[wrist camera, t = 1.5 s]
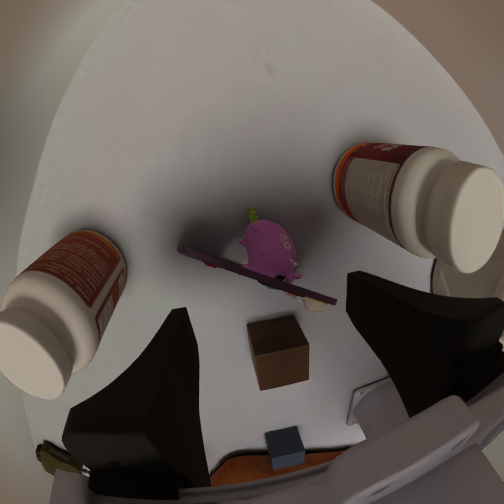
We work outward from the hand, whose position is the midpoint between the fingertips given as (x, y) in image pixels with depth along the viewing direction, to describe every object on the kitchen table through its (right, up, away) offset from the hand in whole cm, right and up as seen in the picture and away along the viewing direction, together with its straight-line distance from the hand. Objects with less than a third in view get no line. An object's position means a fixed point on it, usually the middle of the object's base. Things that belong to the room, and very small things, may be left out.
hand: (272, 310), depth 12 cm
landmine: (-37, -31, +13) cm, 50 cm away
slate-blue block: (+3, -21, +18) cm, 28 cm away
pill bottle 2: (+8, +8, +8) cm, 14 cm away
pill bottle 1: (-13, +1, +7) cm, 15 cm away
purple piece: (-1, +3, +8) cm, 9 cm away
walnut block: (+1, -5, +11) cm, 13 cm away
